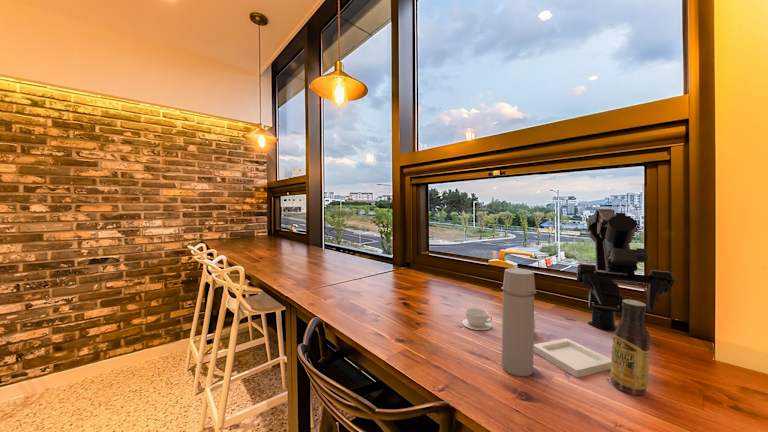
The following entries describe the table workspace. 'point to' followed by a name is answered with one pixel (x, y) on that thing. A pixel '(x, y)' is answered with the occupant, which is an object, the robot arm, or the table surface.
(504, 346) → the water bottle
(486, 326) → the teacup
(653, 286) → the robot arm
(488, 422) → the table surface
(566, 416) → the table surface
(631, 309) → the sauce bottle
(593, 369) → the holder tray
